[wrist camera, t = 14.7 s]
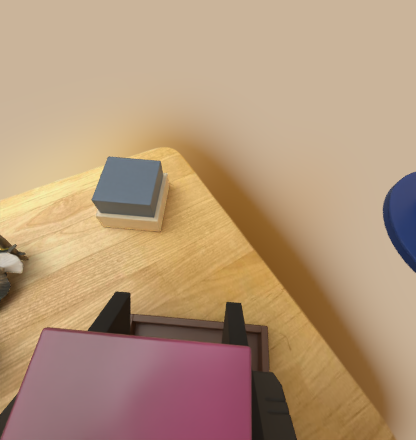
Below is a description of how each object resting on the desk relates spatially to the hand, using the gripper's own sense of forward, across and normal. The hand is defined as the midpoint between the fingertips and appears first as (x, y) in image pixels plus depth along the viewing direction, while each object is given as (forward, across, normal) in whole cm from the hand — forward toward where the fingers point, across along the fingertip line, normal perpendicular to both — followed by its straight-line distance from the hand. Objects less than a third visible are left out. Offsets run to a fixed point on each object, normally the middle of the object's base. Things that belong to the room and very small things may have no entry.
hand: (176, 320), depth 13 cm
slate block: (+21, -9, +2) cm, 23 cm away
